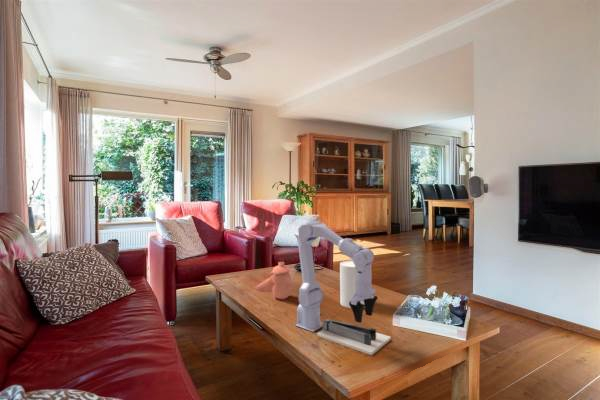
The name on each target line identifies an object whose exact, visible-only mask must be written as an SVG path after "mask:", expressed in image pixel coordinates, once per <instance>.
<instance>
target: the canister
mask: <svg viewBox="0 0 600 400" xmlns="http://www.w3.org/2000/svg"><path fill="white" fill-rule="evenodd" d="M339 281H340V282H339V288H340V289H339V294H340V295H339V296H340V297H339V298H340V300H339V301H340V305H341V306H342V307H344V308H348V309H351V307H350V305H349V302H350V301H351V298H353V296H354V295H355V293H356V269H355V264H354V263H353V260H352V259H351V260H350V259H349V260H344V261H341V262H340V263H339ZM360 303H361V304H363V305H365V304H364V300H362V301H360Z"/></svg>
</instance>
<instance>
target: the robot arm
mask: <svg viewBox="0 0 600 400" xmlns="http://www.w3.org/2000/svg"><path fill="white" fill-rule="evenodd" d="M297 232H298V238H297V246H298V253H299V263H300V269H301V270H300V271H301V277H302V278H301V279H302V284H301V286H300V287H299V289H298V293H299V295H298V303H299V304H298V306H297V308H296V324H295V326H296V327H298V328H301V329H304V330H306V331H310V332H315V331H317V330H319V329H320V328H323V323H321V315H320V312H321V307H320V305H321V302H322V300H323V299H324V294H323V293H324V292H323V291H322V289H321V284H320V283H319V282H317V280H316V279H317V277H316V272H315V263H314V254H313V247H312V244H313V243H314V242H315V241H316V240H317V239H318V238H323V239H325V240H327V241H329V242H330V243H332V244H333V245H336V246H337V247H338V250H339V252H341V253H342V254H343V255H345V256H346V257H348V258H349V259H351V260H353V263H354V264H355V269H356V293H355V295H354V296H353V298H351V301H350V302H349V305H350V307H351V308H350V309H351V311H352V314H353V317H354V320H355V322H357V323H362V321H363V313H364V312H365V315H366V316H369V317H371V316H372V315H373V312H374V308H375V304H376V302H377V300H378V295H376V288H372V263H373V262H374V260H375V254H374V252H373V250H371V248H369V247H366V248H364V246H362V245H359V244H358V243H356V242H354V240H353V238H348V237H346V238H343V237H341V236H340V235H339V234H337V233H336V232H335V231H333V230H332V229H330V227H328V226H327V224H326V223H324V222H322V221H320V220H316V221H310V222H304V223H302V224H301V225H300V226H299V227H298V228H297ZM362 300H364V304H365V305H363V304H361V303H360V301H362Z"/></svg>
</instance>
